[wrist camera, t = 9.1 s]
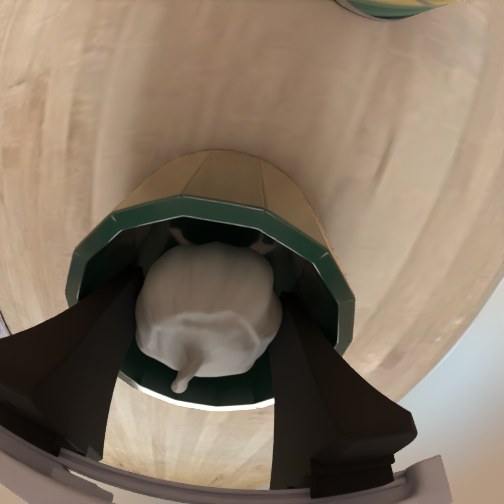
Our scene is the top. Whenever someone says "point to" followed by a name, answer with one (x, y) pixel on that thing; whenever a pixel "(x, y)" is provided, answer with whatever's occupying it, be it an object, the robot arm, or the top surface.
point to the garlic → (207, 310)
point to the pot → (228, 232)
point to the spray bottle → (392, 7)
